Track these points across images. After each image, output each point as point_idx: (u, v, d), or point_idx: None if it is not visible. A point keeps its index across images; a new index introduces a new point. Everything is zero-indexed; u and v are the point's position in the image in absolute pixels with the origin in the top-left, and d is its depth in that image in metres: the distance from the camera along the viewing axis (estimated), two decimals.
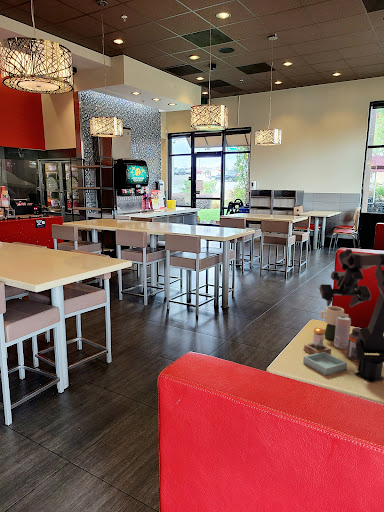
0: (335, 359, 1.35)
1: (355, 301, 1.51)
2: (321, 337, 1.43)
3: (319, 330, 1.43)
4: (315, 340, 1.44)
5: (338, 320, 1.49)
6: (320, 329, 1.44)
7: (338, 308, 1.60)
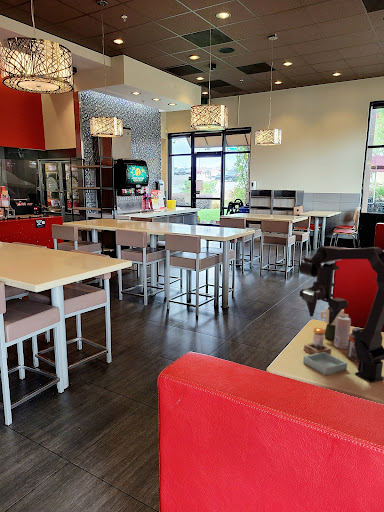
0: (335, 359, 1.35)
1: (314, 303, 1.47)
2: (321, 337, 1.43)
3: (319, 330, 1.43)
4: (315, 340, 1.44)
5: (338, 320, 1.49)
6: (320, 329, 1.44)
7: None
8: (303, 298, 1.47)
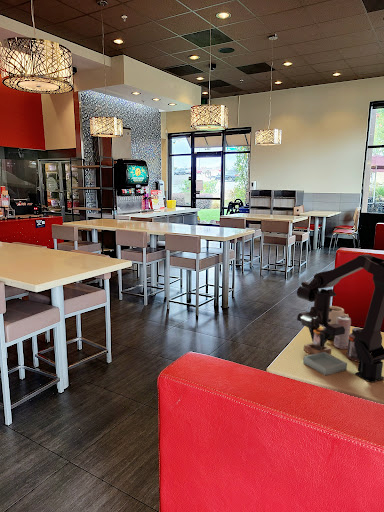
0: (335, 359, 1.35)
1: None
2: None
3: (319, 330, 1.43)
4: (315, 340, 1.44)
5: (338, 320, 1.49)
6: (320, 329, 1.44)
7: (338, 308, 1.60)
8: None
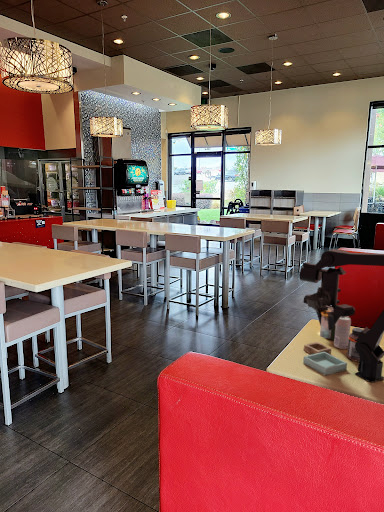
0: (335, 359, 1.35)
1: None
2: None
3: None
4: (323, 323, 1.34)
5: (338, 320, 1.49)
6: (328, 311, 1.34)
7: None
8: None
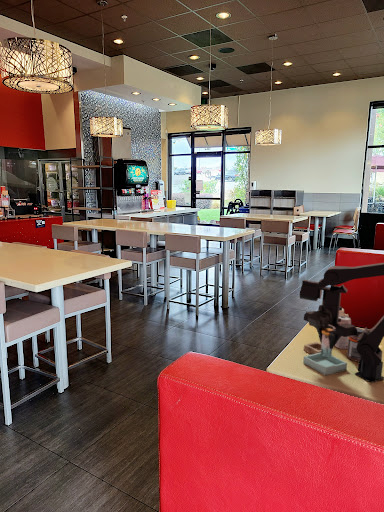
0: (335, 359, 1.35)
1: None
2: None
3: None
4: (324, 342, 1.31)
5: None
6: (329, 329, 1.31)
7: None
8: None
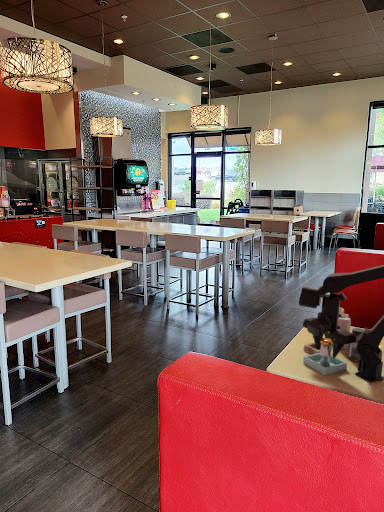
0: (335, 359, 1.35)
1: (321, 335, 1.36)
2: (329, 348, 1.31)
3: (326, 341, 1.31)
4: (322, 352, 1.32)
5: (338, 320, 1.49)
6: (327, 340, 1.32)
7: None
8: None
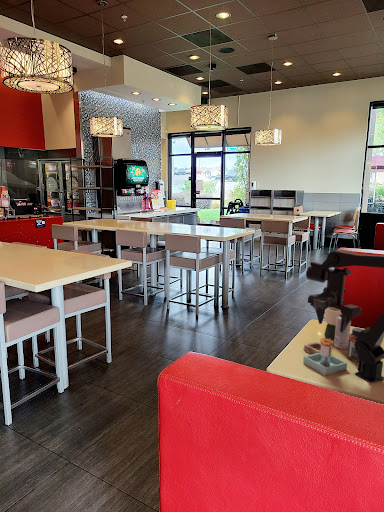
0: (335, 359, 1.35)
1: (323, 310, 1.40)
2: (329, 349, 1.31)
3: (327, 341, 1.31)
4: (322, 352, 1.31)
5: (338, 320, 1.49)
6: (328, 340, 1.32)
7: None
8: (312, 304, 1.39)
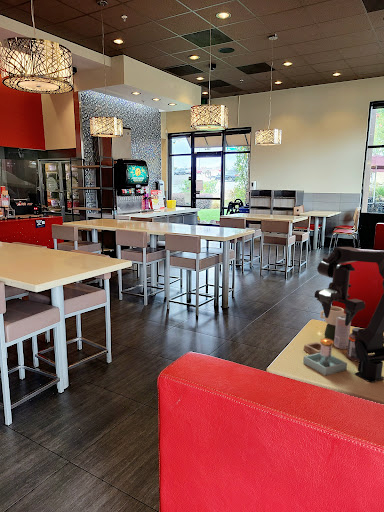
0: (335, 359, 1.35)
1: (330, 305, 1.46)
2: (329, 349, 1.30)
3: (327, 341, 1.31)
4: (322, 352, 1.31)
5: (338, 320, 1.49)
6: (328, 340, 1.32)
7: (338, 308, 1.60)
8: (318, 299, 1.45)
